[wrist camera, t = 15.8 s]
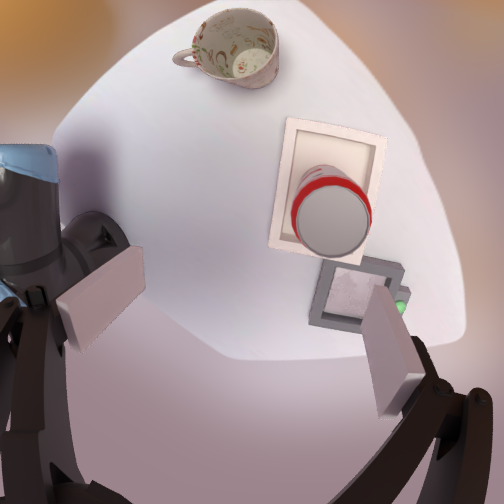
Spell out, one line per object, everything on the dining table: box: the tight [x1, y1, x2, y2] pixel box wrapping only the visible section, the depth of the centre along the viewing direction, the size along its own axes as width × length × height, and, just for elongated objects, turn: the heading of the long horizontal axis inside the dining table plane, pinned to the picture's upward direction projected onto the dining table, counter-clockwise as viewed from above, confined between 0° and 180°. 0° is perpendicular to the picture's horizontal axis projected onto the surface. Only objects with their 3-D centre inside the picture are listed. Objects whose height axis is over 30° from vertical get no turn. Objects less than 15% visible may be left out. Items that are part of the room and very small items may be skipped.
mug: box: [172, 8, 279, 89], centre depth 25 cm, size 8×13×10 cm, turn 90°
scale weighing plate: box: [324, 267, 387, 319], centre depth 37 cm, size 7×7×1 cm
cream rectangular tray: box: [268, 117, 388, 266], centre depth 32 cm, size 11×15×4 cm
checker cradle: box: [308, 256, 411, 334], centre depth 36 cm, size 13×11×2 cm
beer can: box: [290, 165, 372, 259], centre depth 26 cm, size 6×6×16 cm
